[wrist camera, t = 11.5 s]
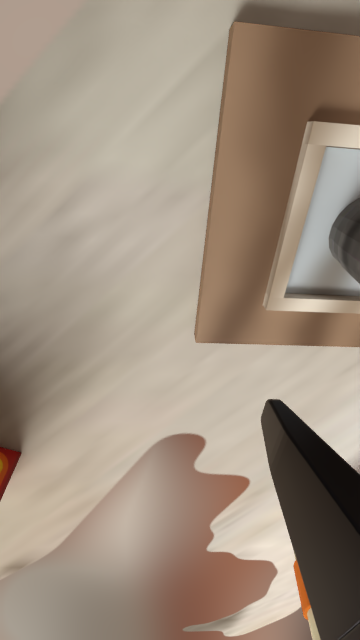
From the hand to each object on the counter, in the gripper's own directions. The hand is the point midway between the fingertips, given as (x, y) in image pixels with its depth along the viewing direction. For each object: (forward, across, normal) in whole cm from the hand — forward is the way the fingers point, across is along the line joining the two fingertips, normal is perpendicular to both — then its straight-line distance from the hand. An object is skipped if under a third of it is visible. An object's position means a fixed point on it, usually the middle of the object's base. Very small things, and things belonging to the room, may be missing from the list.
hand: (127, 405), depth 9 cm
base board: (+13, -14, -3) cm, 19 cm away
